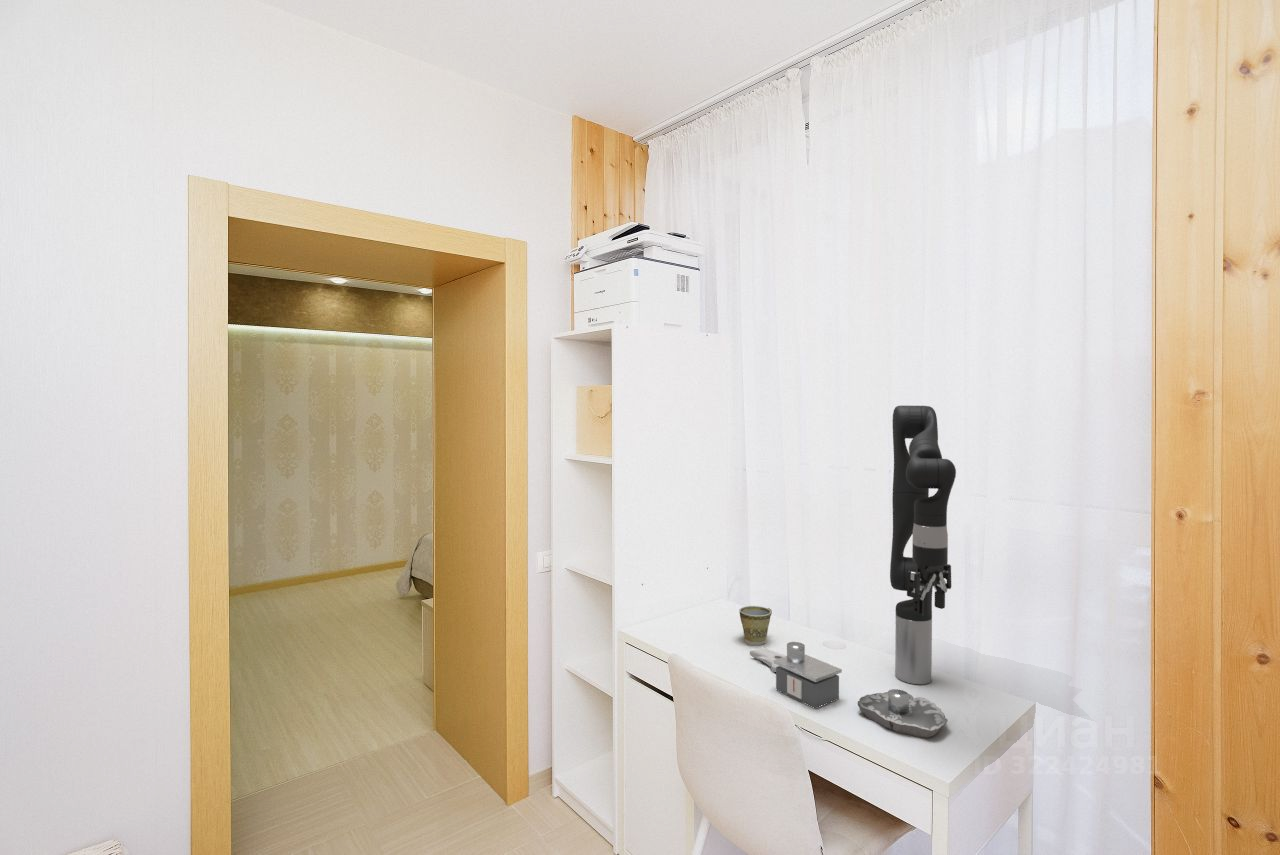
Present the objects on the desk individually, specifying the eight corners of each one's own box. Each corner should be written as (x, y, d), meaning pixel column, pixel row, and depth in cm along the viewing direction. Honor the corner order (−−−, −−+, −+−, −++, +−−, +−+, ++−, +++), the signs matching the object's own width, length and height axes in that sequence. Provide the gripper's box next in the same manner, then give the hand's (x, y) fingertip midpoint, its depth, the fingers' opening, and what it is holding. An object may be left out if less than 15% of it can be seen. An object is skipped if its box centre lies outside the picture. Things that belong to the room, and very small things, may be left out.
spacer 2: (886, 704, 152) (886, 688, 152) (906, 706, 151) (906, 689, 151) (890, 714, 147) (890, 697, 147) (911, 715, 146) (911, 698, 146)
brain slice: (958, 720, 150) (958, 708, 150) (934, 749, 137) (934, 736, 137) (877, 695, 163) (877, 684, 163) (848, 719, 151) (848, 707, 151)
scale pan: (773, 663, 166) (773, 660, 166) (799, 654, 171) (799, 651, 171) (815, 682, 154) (815, 679, 154) (841, 672, 160) (841, 669, 160)
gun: (742, 650, 184) (762, 642, 191) (741, 662, 184) (761, 653, 191) (796, 672, 171) (815, 662, 178) (795, 684, 171) (814, 674, 178)
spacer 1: (786, 656, 169) (786, 641, 168) (803, 657, 168) (804, 642, 168) (787, 662, 164) (787, 647, 164) (805, 664, 163) (805, 648, 163)
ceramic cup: (756, 650, 193) (756, 618, 192) (732, 640, 200) (732, 610, 200) (783, 640, 201) (783, 609, 201) (759, 631, 209) (759, 601, 208)
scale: (774, 690, 165) (774, 667, 165) (799, 680, 171) (799, 659, 171) (813, 709, 155) (813, 685, 154) (838, 698, 160) (839, 675, 160)
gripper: (927, 550, 139) (926, 622, 140) (962, 542, 147) (961, 609, 148) (897, 544, 146) (896, 612, 146) (932, 536, 154) (931, 601, 154)
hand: (929, 611), depth 147 cm, fingers open, 8 cm apart
